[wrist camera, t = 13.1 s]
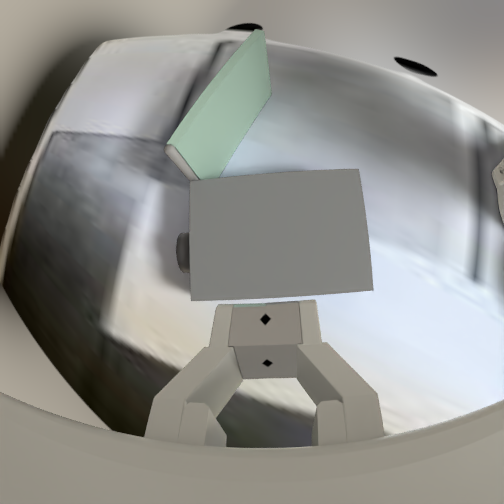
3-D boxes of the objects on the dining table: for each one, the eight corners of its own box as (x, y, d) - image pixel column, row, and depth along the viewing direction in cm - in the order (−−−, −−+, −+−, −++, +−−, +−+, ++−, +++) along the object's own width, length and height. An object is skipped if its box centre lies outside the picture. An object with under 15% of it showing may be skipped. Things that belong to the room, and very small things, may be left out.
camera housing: (347, 189, 39) (358, 168, 32) (358, 291, 37) (373, 290, 30) (191, 200, 42) (174, 183, 35) (193, 300, 39) (174, 301, 33)
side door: (258, 89, 43) (247, 27, 29) (271, 94, 43) (264, 31, 29) (193, 191, 42) (153, 147, 28) (206, 198, 41) (170, 155, 28)
